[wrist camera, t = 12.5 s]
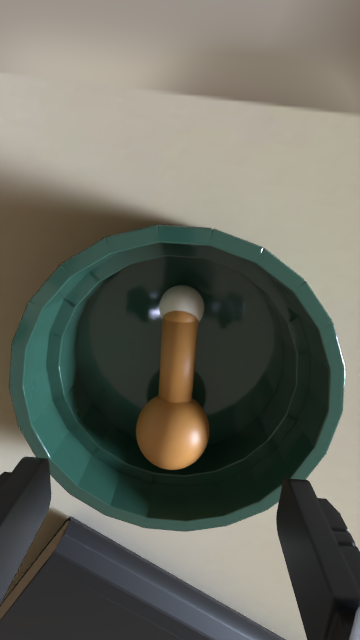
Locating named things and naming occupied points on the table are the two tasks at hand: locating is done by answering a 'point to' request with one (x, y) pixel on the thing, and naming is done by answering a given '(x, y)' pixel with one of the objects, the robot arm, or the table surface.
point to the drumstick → (175, 387)
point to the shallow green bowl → (209, 376)
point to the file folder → (112, 597)
